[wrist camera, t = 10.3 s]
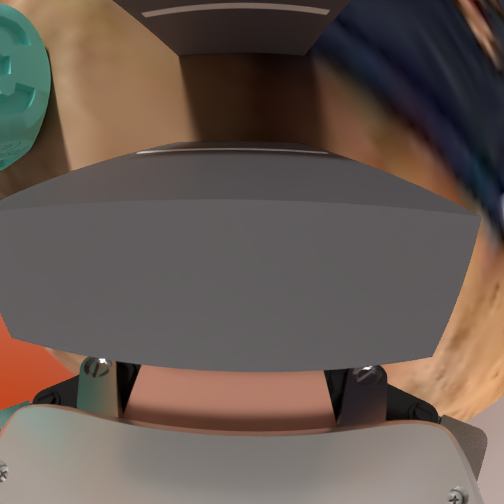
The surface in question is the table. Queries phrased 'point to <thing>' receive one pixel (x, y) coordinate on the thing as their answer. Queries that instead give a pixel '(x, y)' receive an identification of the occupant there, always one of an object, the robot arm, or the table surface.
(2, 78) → the decorative dice
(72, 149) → the table surface
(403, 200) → the domino
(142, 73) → the table surface
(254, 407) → the domino
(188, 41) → the domino
